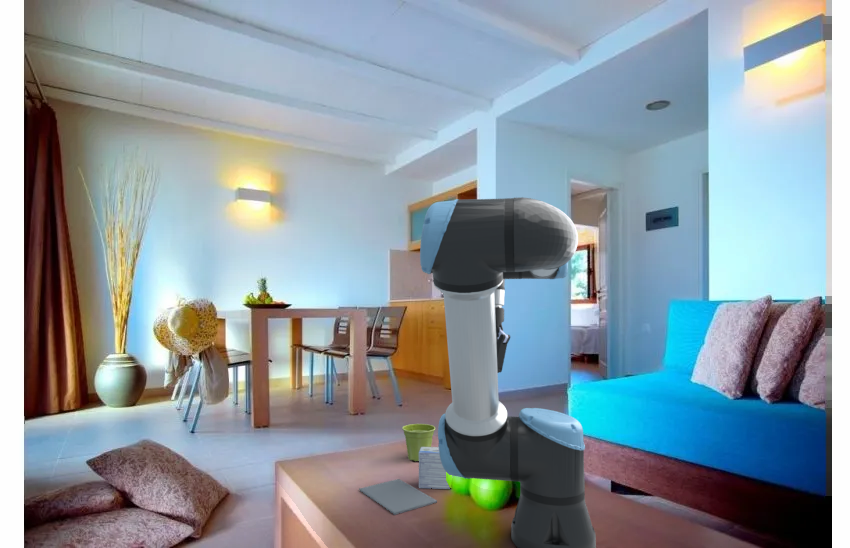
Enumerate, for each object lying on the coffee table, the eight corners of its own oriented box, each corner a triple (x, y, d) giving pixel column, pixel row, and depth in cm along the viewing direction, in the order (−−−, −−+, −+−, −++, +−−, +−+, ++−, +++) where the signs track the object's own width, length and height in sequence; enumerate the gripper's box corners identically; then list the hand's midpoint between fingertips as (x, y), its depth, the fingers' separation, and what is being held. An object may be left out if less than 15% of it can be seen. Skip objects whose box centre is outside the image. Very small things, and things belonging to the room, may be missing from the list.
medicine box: (452, 483, 118) (452, 447, 118) (451, 490, 114) (451, 452, 114) (420, 481, 119) (420, 446, 119) (418, 488, 114) (418, 451, 115)
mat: (437, 502, 106) (437, 500, 106) (394, 514, 100) (394, 513, 100) (398, 480, 120) (398, 478, 120) (359, 490, 113) (359, 488, 113)
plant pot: (399, 454, 140) (399, 424, 140) (430, 452, 142) (430, 422, 142) (405, 465, 131) (405, 432, 131) (439, 462, 133) (439, 430, 133)
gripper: (518, 307, 121) (516, 403, 118) (482, 308, 132) (480, 396, 129) (497, 305, 117) (495, 405, 114) (461, 306, 127) (458, 397, 124)
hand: (487, 400), depth 121 cm, fingers closed
